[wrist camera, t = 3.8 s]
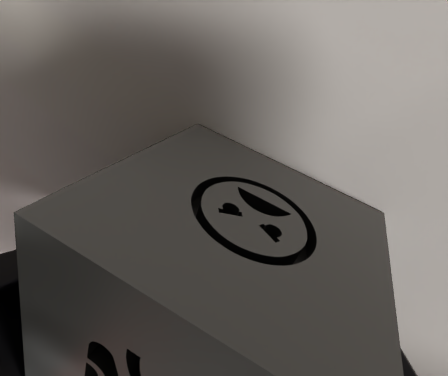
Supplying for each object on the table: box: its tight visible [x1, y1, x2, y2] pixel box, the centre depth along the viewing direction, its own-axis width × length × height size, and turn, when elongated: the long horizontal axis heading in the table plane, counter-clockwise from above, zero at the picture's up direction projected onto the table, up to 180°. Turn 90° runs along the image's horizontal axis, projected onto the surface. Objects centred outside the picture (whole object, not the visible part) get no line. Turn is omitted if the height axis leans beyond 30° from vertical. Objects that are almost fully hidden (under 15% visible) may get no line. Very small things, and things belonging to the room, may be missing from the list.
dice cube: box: [14, 124, 404, 376], centre depth 7 cm, size 5×5×5 cm
